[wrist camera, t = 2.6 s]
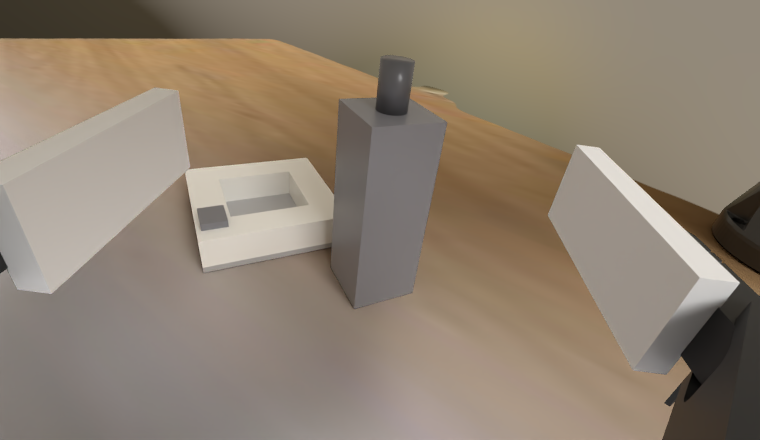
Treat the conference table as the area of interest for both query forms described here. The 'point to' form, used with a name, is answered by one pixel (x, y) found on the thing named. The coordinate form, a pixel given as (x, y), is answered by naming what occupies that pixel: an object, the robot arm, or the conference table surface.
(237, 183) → the socket
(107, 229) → the robot arm
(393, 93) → the plug
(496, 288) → the conference table surface
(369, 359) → the conference table surface
